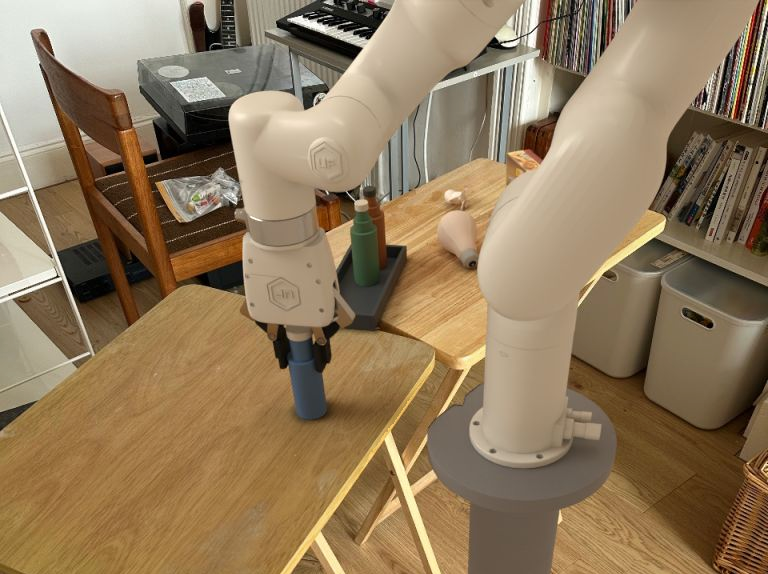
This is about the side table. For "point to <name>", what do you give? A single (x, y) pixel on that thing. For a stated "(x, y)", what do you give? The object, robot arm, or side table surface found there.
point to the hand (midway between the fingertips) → (304, 363)
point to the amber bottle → (377, 223)
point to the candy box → (520, 164)
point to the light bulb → (459, 236)
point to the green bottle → (364, 246)
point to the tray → (370, 288)
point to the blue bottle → (305, 374)
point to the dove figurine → (456, 197)
